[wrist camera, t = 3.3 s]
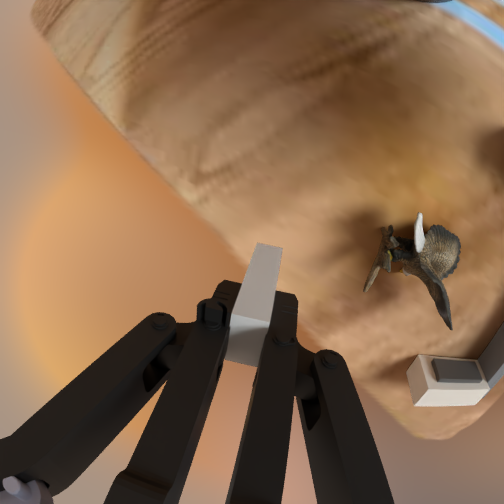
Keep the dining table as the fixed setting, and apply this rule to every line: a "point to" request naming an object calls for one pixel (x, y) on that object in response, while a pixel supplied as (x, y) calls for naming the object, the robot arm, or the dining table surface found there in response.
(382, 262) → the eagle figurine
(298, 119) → the dining table surface
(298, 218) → the dining table surface
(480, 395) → the rail
